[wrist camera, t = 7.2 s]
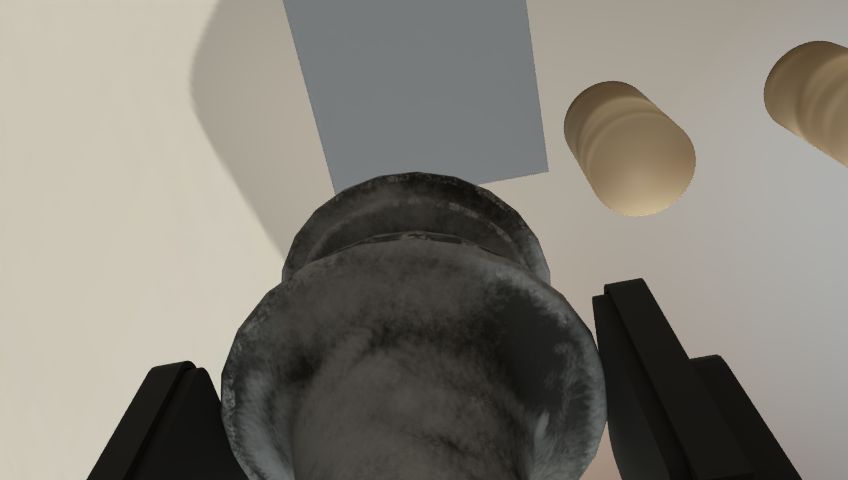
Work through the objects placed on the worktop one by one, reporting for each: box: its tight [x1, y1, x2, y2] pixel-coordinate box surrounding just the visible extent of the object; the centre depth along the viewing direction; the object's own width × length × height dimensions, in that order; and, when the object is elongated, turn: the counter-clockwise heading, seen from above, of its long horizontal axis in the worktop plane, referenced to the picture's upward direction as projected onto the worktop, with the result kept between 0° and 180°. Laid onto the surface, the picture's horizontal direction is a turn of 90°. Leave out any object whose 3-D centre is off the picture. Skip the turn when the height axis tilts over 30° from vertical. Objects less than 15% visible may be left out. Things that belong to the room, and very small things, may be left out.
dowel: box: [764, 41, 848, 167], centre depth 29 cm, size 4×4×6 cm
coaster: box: [283, 0, 548, 195], centre depth 32 cm, size 10×10×1 cm
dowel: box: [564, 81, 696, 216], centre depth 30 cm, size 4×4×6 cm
